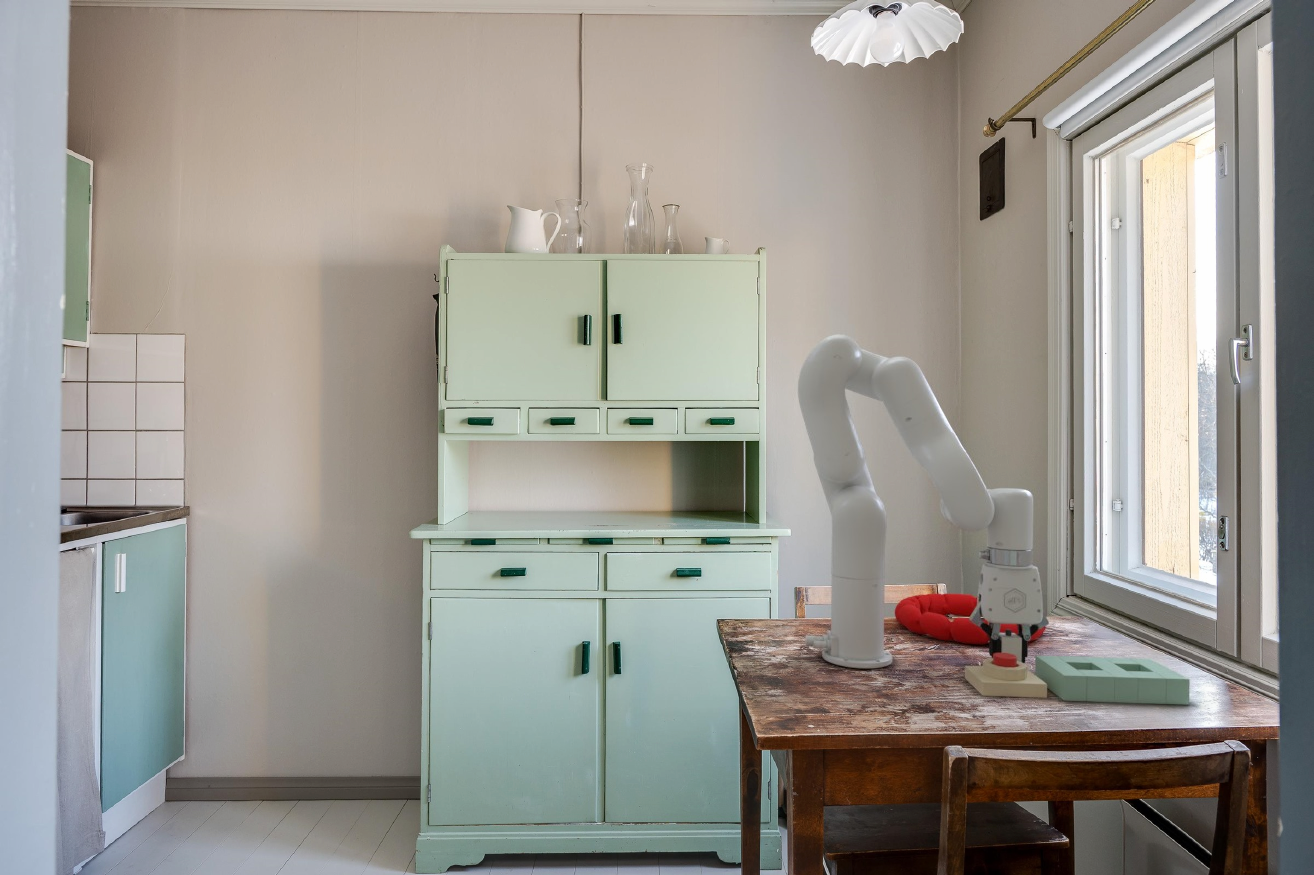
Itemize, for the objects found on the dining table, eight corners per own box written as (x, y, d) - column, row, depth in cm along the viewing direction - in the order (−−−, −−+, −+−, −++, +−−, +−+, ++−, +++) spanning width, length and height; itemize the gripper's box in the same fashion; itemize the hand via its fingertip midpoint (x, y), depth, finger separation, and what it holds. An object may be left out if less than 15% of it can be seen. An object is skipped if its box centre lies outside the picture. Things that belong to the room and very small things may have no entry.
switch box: (982, 695, 126) (982, 670, 126) (964, 678, 135) (965, 655, 135) (1047, 698, 126) (1047, 672, 125) (1025, 680, 134) (1025, 656, 134)
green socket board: (1063, 700, 124) (1063, 675, 124) (1034, 678, 135) (1035, 655, 135) (1189, 704, 123) (1189, 679, 123) (1150, 682, 134) (1150, 658, 134)
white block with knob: (1001, 671, 139) (1002, 631, 139) (994, 665, 143) (995, 627, 143) (1021, 672, 139) (1021, 632, 139) (1014, 666, 143) (1014, 627, 143)
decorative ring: (1065, 628, 152) (1025, 584, 181) (902, 619, 158) (889, 578, 187) (1064, 664, 152) (1024, 615, 182) (901, 654, 158) (888, 608, 188)
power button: (997, 669, 129) (997, 658, 129) (989, 662, 132) (989, 652, 132) (1020, 669, 128) (1020, 659, 128) (1011, 663, 132) (1012, 652, 132)
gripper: (968, 560, 138) (967, 665, 138) (1066, 562, 137) (1065, 668, 137) (955, 553, 145) (954, 653, 145) (1048, 555, 144) (1047, 656, 144)
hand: (1008, 659), depth 141 cm, fingers closed on white block with knob, 3 cm apart
